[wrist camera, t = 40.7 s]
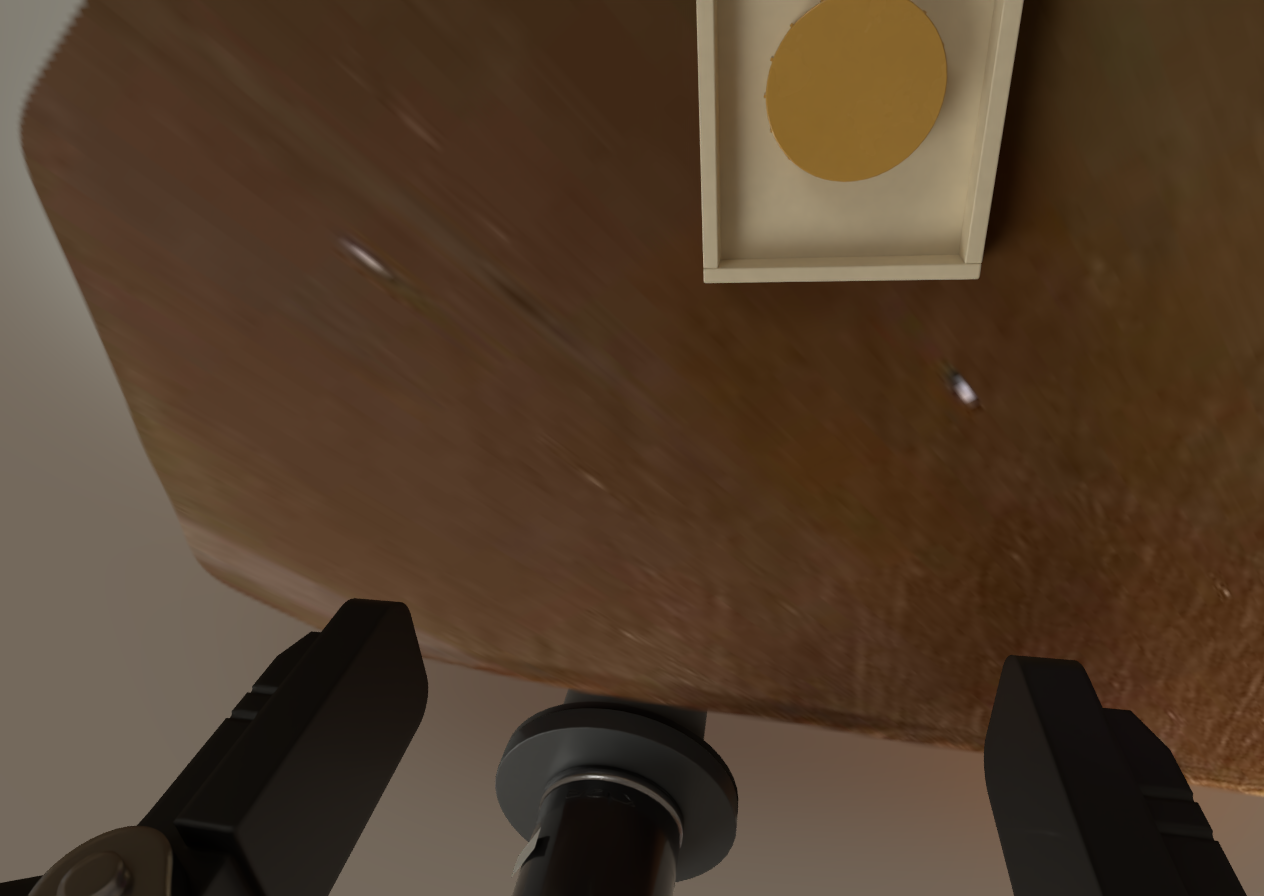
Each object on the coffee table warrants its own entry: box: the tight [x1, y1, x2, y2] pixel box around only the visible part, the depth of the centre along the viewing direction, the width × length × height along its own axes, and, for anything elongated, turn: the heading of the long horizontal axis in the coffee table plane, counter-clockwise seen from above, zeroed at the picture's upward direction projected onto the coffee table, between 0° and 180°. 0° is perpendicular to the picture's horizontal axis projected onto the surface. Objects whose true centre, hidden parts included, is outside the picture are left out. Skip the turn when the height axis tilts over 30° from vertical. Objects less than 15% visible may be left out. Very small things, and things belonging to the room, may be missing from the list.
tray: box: [696, 0, 1024, 283], centre depth 26 cm, size 13×10×2 cm
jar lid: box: [764, 0, 948, 182], centre depth 26 cm, size 6×6×2 cm
